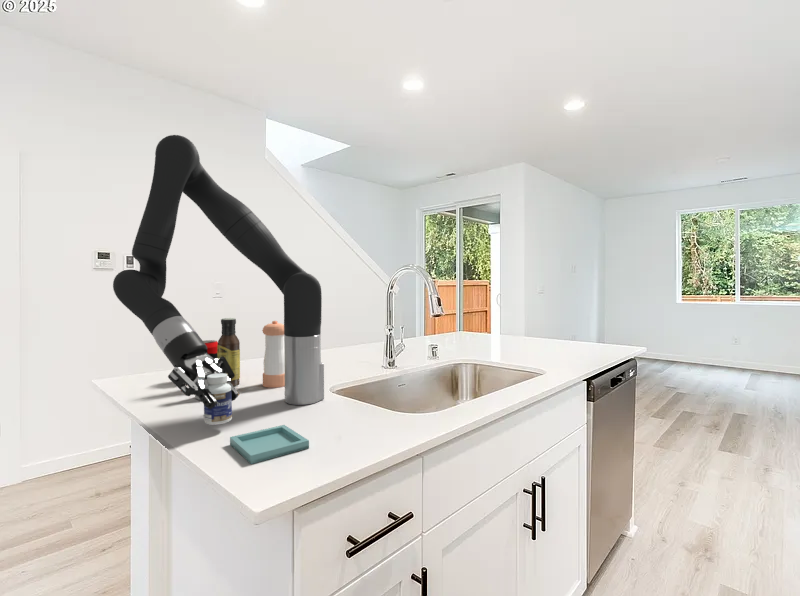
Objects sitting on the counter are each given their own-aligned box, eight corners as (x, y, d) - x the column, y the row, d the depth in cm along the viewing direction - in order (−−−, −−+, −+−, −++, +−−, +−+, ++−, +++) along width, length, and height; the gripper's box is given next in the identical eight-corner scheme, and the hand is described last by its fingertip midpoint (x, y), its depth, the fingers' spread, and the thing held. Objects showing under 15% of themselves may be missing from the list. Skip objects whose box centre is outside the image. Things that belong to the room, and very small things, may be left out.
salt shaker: (284, 387, 125) (283, 322, 124) (259, 387, 125) (258, 322, 124) (290, 381, 132) (290, 319, 131) (267, 381, 132) (266, 319, 131)
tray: (284, 431, 89) (284, 424, 89) (309, 448, 81) (308, 440, 81) (230, 444, 83) (230, 437, 82) (251, 464, 74) (250, 455, 74)
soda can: (204, 383, 129) (203, 344, 129) (189, 380, 133) (188, 342, 132) (226, 378, 136) (225, 341, 135) (210, 375, 139) (210, 339, 139)
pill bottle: (214, 427, 87) (213, 379, 86) (198, 422, 89) (197, 376, 89) (237, 419, 91) (236, 374, 91) (221, 415, 94) (220, 371, 93)
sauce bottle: (214, 384, 128) (213, 318, 127) (235, 381, 132) (234, 317, 131) (222, 389, 123) (221, 319, 122) (243, 385, 127) (242, 318, 126)
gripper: (159, 334, 85) (207, 400, 82) (214, 326, 99) (258, 382, 95) (140, 359, 87) (187, 424, 84) (197, 348, 101) (239, 403, 97)
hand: (224, 401), depth 89 cm, fingers closed on pill bottle, 5 cm apart
